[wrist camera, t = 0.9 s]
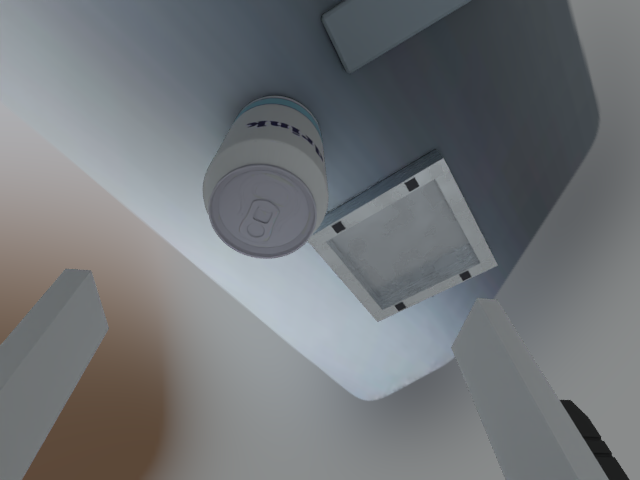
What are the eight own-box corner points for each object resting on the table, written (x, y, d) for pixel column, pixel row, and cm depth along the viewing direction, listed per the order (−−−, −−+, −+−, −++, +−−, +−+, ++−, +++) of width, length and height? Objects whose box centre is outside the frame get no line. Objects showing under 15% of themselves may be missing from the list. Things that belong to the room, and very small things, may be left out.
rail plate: (305, 226, 33) (305, 239, 31) (435, 148, 29) (443, 158, 27) (374, 308, 39) (377, 322, 38) (488, 252, 35) (498, 265, 34)
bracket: (319, 15, 24) (320, 17, 22) (470, -86, 21) (484, -93, 20) (345, 71, 26) (348, 76, 24) (487, -16, 23) (500, -16, 22)
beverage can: (336, 117, 27) (354, 186, 18) (300, 190, 31) (297, 282, 21) (251, 75, 26) (217, 126, 16) (222, 158, 29) (179, 243, 19)
